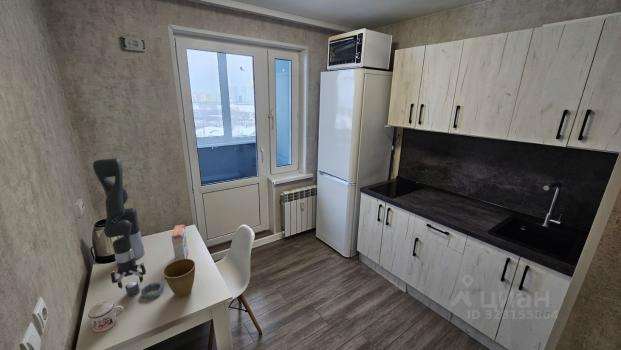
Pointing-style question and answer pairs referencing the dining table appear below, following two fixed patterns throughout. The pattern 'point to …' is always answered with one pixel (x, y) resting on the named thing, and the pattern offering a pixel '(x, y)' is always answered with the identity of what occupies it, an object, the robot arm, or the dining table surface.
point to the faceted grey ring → (151, 286)
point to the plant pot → (180, 276)
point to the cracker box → (180, 242)
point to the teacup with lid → (103, 316)
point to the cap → (132, 288)
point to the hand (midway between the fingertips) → (131, 284)
